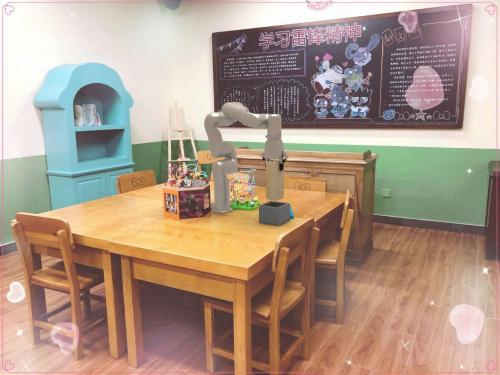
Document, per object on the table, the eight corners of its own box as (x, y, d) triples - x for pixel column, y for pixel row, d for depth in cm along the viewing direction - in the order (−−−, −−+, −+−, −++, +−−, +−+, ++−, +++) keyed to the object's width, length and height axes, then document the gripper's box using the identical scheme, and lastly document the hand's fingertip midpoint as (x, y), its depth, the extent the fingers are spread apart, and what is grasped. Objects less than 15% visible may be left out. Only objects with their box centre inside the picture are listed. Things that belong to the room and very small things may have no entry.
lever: (293, 226, 239) (288, 210, 255) (293, 215, 235) (288, 200, 251) (281, 226, 238) (277, 210, 254) (281, 215, 235) (277, 200, 251)
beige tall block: (273, 196, 233) (273, 159, 229) (284, 198, 229) (284, 160, 224) (264, 199, 227) (264, 161, 223) (275, 201, 223) (275, 162, 218)
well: (258, 223, 228) (258, 205, 226) (270, 217, 239) (270, 200, 237) (279, 226, 222) (279, 208, 220) (289, 220, 233) (289, 203, 231)
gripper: (256, 137, 223) (257, 170, 226) (285, 138, 214) (285, 172, 217) (263, 136, 229) (263, 168, 232) (292, 137, 220) (292, 170, 224)
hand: (274, 170), depth 225 cm, fingers closed on beige tall block, 7 cm apart
